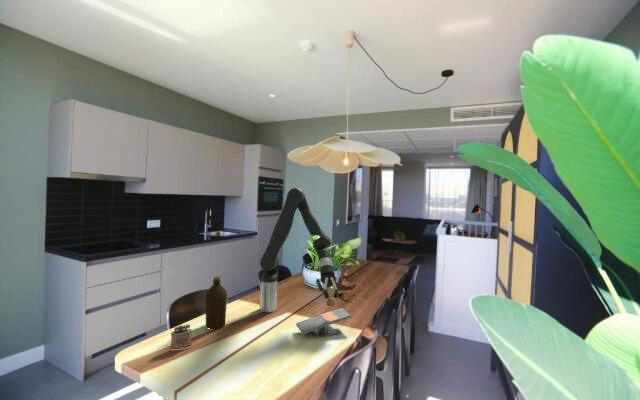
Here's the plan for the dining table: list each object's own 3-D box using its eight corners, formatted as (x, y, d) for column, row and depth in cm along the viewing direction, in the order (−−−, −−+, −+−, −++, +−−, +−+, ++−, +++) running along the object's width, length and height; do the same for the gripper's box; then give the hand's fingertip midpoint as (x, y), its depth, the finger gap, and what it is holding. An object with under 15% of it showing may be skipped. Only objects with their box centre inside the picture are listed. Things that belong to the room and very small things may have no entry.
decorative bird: (368, 291, 196) (362, 272, 193) (349, 306, 187) (343, 286, 183) (342, 280, 220) (337, 263, 216) (324, 293, 210) (318, 276, 207)
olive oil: (222, 330, 141) (223, 280, 141) (200, 330, 141) (202, 279, 141) (229, 321, 151) (230, 274, 151) (209, 320, 152) (210, 274, 151)
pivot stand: (318, 338, 136) (319, 328, 136) (309, 327, 147) (310, 318, 147) (337, 335, 140) (337, 325, 140) (327, 324, 151) (327, 316, 151)
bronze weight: (328, 306, 142) (328, 288, 142) (324, 303, 146) (325, 286, 146) (336, 305, 143) (336, 287, 143) (332, 302, 147) (332, 285, 147)
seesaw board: (302, 334, 134) (302, 331, 134) (296, 325, 143) (295, 322, 143) (350, 317, 144) (350, 314, 144) (341, 309, 153) (341, 307, 153)
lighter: (170, 352, 121) (171, 328, 120) (170, 348, 124) (171, 325, 123) (191, 348, 124) (192, 325, 124) (191, 344, 127) (191, 322, 127)
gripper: (314, 264, 150) (318, 295, 139) (340, 263, 153) (346, 293, 142) (312, 272, 155) (316, 302, 144) (337, 271, 159) (343, 300, 147)
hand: (331, 297), depth 143 cm, fingers closed on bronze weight, 4 cm apart
